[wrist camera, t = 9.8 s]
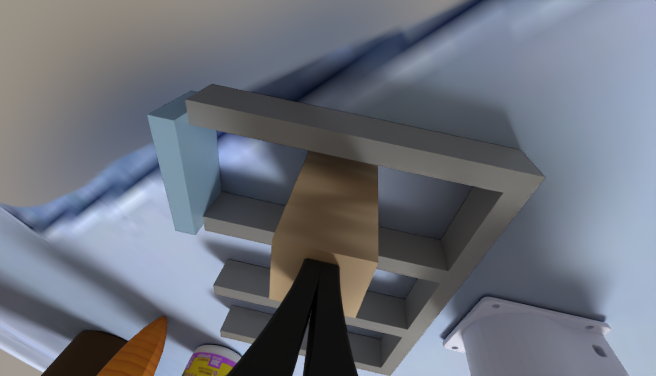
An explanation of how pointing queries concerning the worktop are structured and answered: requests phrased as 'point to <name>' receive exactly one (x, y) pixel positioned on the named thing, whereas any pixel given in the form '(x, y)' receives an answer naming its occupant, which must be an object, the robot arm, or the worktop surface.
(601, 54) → the worktop surface
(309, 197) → the tan rectangular block
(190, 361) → the supplement bottle
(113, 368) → the carrot
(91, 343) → the olive oil
